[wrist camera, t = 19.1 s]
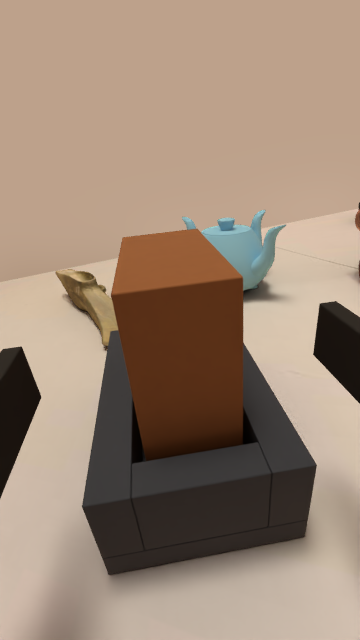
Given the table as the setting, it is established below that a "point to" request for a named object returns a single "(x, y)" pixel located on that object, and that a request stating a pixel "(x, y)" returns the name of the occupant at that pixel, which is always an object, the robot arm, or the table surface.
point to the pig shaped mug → (359, 224)
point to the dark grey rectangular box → (193, 481)
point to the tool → (90, 299)
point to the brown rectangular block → (181, 341)
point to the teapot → (243, 246)
